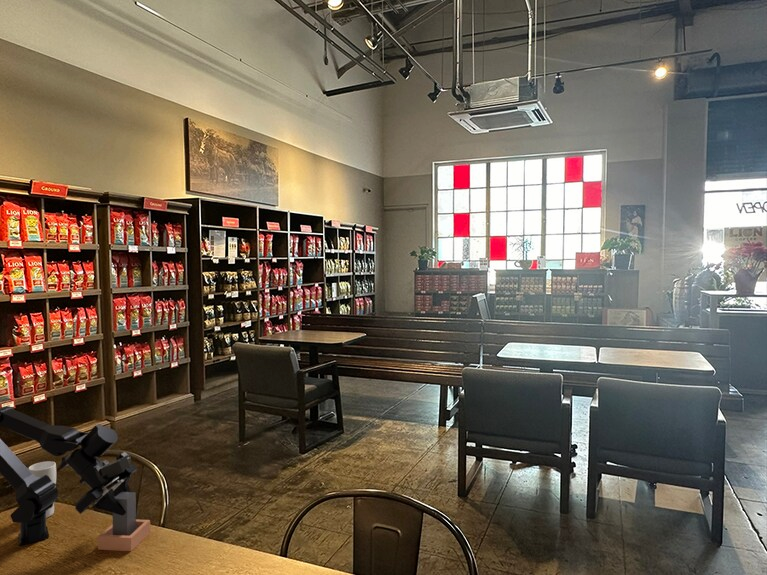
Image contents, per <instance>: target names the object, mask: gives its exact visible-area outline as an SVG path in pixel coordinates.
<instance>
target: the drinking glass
mask: <svg viewBox="0 0 767 575" xmlns="http://www.w3.org/2000/svg"><path fill="white" fill-rule="evenodd" d="M27 468H28V469H29V471H30V472H31V473H32V474H33V475H34V476H37V477H40V478H41V477H43V476H44V475H47V476H49V478H50V479H51V481H52V482H53V483H55V484H57V464H56V462H55V461H50V460H49V461H48V460H47V461H42V462H37V463H33V464H32V465H30V466H29V467H27ZM56 486H57V485H56ZM56 486H55V487H56ZM56 488H57V487H56ZM54 512H55V503H54V504H53V506H52V508H50V509H48V510H47V511H46V519H48V518H49V517H51V516H53V514H54Z"/></svg>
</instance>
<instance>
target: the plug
mask: <svg viewBox="0 0 767 575" xmlns="http://www.w3.org/2000/svg"><path fill="white" fill-rule="evenodd" d="M136 493H137V492H135V491H131V492H121V493H119V494H118V495H117V496H115V499H116V500H117V501H118V502H119V503H120V505H121V506H122V507H123V508H124V510H125V511H126V513H125V514H124V515H123V516H122V515H119V514H116V513H112V524H113V535H125V536H130V535H131V534H132V533H133V532H134V531H135V530H136V519H137V499H136V498H137V494H136Z"/></svg>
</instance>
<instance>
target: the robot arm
mask: <svg viewBox="0 0 767 575" xmlns="http://www.w3.org/2000/svg"><path fill="white" fill-rule="evenodd" d="M0 427H2V428H5V429H7V430H9V431H12V432H13V433H16V434H18V435H21V436H23V437H25V438H28V439H31V440H33V441H35V442H36V443H38V444H39V445H40V447H41V449H42V450H44V451H45V452H47V453H48V454H50V455H52V456H54V457H60V456H62V457H61V458H60V459H61V463H60V467H59V468H60V469H61V470H62V469H64V468H67V466H69V467H70V468H71V469H73V471H74V472H75V473H76V474H77V475H78V476H79V477H80V479H79V480H78V482H79V483H80V485H81V484H84V483H85V484H87V486H88V487H89V488H90V490H88V491H87V492H86V493H85V494H84V495H82V497H81V498H80V499H79V500H77V502H76V503H75V505H74V506H75V508H74V509H75V510H76V511H77V513H79V514H80V515H81V514H83V513H84V512H86V511H87V510H88V509H89V507H90V506H91V505H92V504H93V506H92V507H91V509H92V510H94V509H98V510H101V511H106V512H110V513H112V514H113V513H116V514H119V515H122V516H123V515H124V514H125V513H126V511H125V510H124V508H123V507H122V506H121V505H120V503H119V502H118V501H117V500H116V499H115V496H117V495H118V494H119V493H121V492H132V491H131V489H130V488H131V487H130V479H131V478H132V475H133V474H134V473H135V472H136V471H137V470H138V468H137V467H136V466H135V465H134V464H132V463H131V461H132V457H131V456H130V455H129V454H128V453H127V452H126V451H124V452H121V453H119V454H118V455H116V458H115V460H113V461H111V462H109V461H108V460H106V459H104V460H103V461H102V460H101V459H99V458H100V457H101V456H103V455H104V454H106V453H107V451H108V450H109V449H111V447H112V446H114V444H115V443H116V442H118V440H119V438H118V437H119V436H118V434H117V432H116V431H115V430H114V428H111V427H108V426H103V425H102V424H101V423H98V424H96V425H95V426H93V427H92V428H91V430H90V431H89V432H86V431H85V432H83V431H79V430H78V429H77V428H74V427H70V426H67V425H54V424H49V423H47V422H45V421H42V420H40V419H37V418H35V417H33V416H30V415H28V414H26V413H23V412H21V411H18V410H16V409H14V407H12V406H9V405H8V406H7V405H5V406H2V407H0ZM79 447H80V448H79ZM69 452H71V453H70V454H67V453H69ZM65 454H66V455H65ZM63 455H65V456H63ZM28 468H29V467H27V466H26V465H25V464H24V463H23V462H22V460H20V458H18V457H17V455H16V454H15V453H14V452H13V451H12V450H11V449H10V447H9V446H8V445H7V444H5V442H4V441H3V439H1V438H0V475H1V476H2V477H3V478H4V479H5V480H6V481H7V483H8V484H9V485H11V487H12V488H13V489H14V491H15V500H16V503H17V504H18V506H17V508H16V509H14V511H13V512H11V514H10V518H11V521H12V523H18V524H19V525H20V526H19V528H20V529H19V531H20V533H18V535H17V537H18V546H24V545H27V544H31V543H34V542H38V541H42V540H45V539H49V538H50V533H49V529H48V526H47V518H46V511H47V510H48V509H50V508H52V506H53V504H54V505H55V502H56V501H57V499H58V497H59V489H58V488H57V487H55V486H57V483H56V484H55V483H53V482H52V481H51V479H50V478H49V476H47V475H44V476H43V477H41V478H40V477H37V476H34V475H33V474H32V473H31V472H30V471H29V469H28Z"/></svg>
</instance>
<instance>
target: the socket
mask: <svg viewBox="0 0 767 575" xmlns="http://www.w3.org/2000/svg"><path fill="white" fill-rule="evenodd" d="M149 534H151V520H150V519H138V518H136V530H135V531H134V532H133V533H132V534H131V535H130V536H125V535H113V523H112V524H110V526H108V527H107V528H106V529H105V530H104V531H103V532H101V533H100V534H99V535H98V536H97V550H98V551H99V550H102V551H119V552H120V551H121V552H132V551H133V550H134V549H135V548H136V547H137V546H138V545H139V544H140V543H141V542H142V541H144V539H145V538H146V537H147V536H149Z"/></svg>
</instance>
